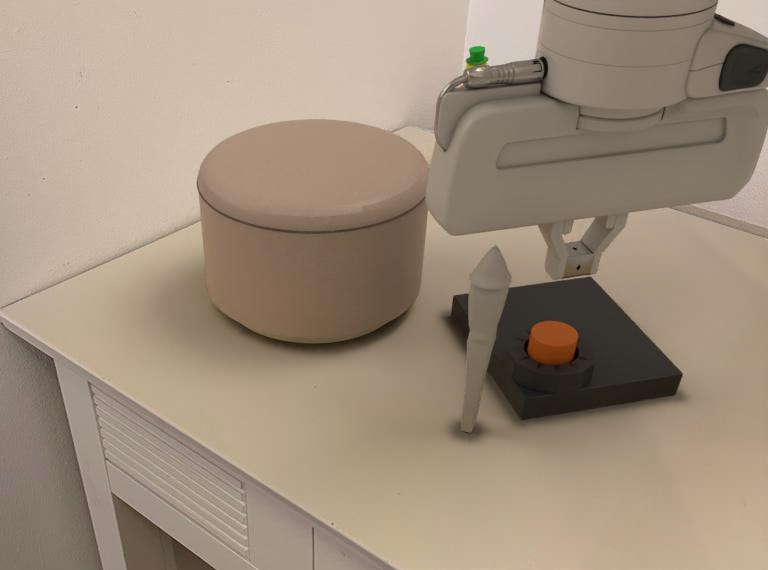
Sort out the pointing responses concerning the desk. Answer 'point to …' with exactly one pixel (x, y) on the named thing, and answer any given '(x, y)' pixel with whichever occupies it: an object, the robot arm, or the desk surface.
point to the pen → (483, 327)
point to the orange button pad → (592, 354)
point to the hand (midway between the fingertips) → (569, 273)
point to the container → (313, 228)
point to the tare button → (552, 343)
